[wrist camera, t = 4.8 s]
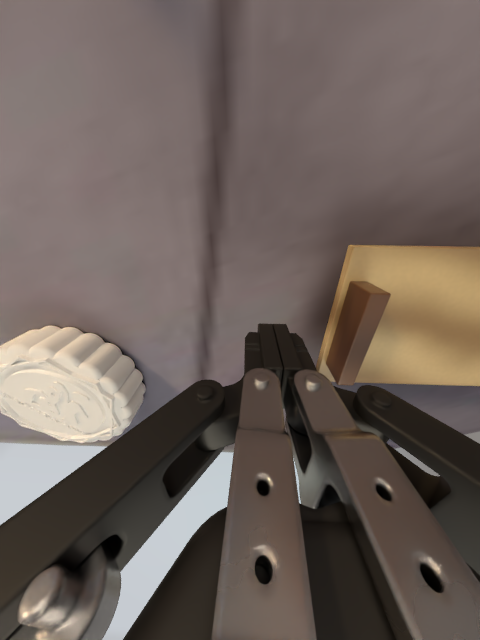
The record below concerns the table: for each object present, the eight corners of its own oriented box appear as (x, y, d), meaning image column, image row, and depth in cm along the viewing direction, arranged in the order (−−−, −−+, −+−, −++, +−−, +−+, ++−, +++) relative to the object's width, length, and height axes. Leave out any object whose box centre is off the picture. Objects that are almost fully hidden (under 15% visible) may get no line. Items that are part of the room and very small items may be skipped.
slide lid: (348, 244, 10) (377, 252, 8) (672, 249, 10) (801, 259, 8) (313, 375, 15) (325, 404, 12) (533, 382, 14) (588, 413, 12)
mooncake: (171, 382, 19) (155, 415, 16) (108, 427, 23) (86, 461, 20) (49, 296, 15) (-5, 318, 11) (0, 370, 19) (-51, 401, 15)
